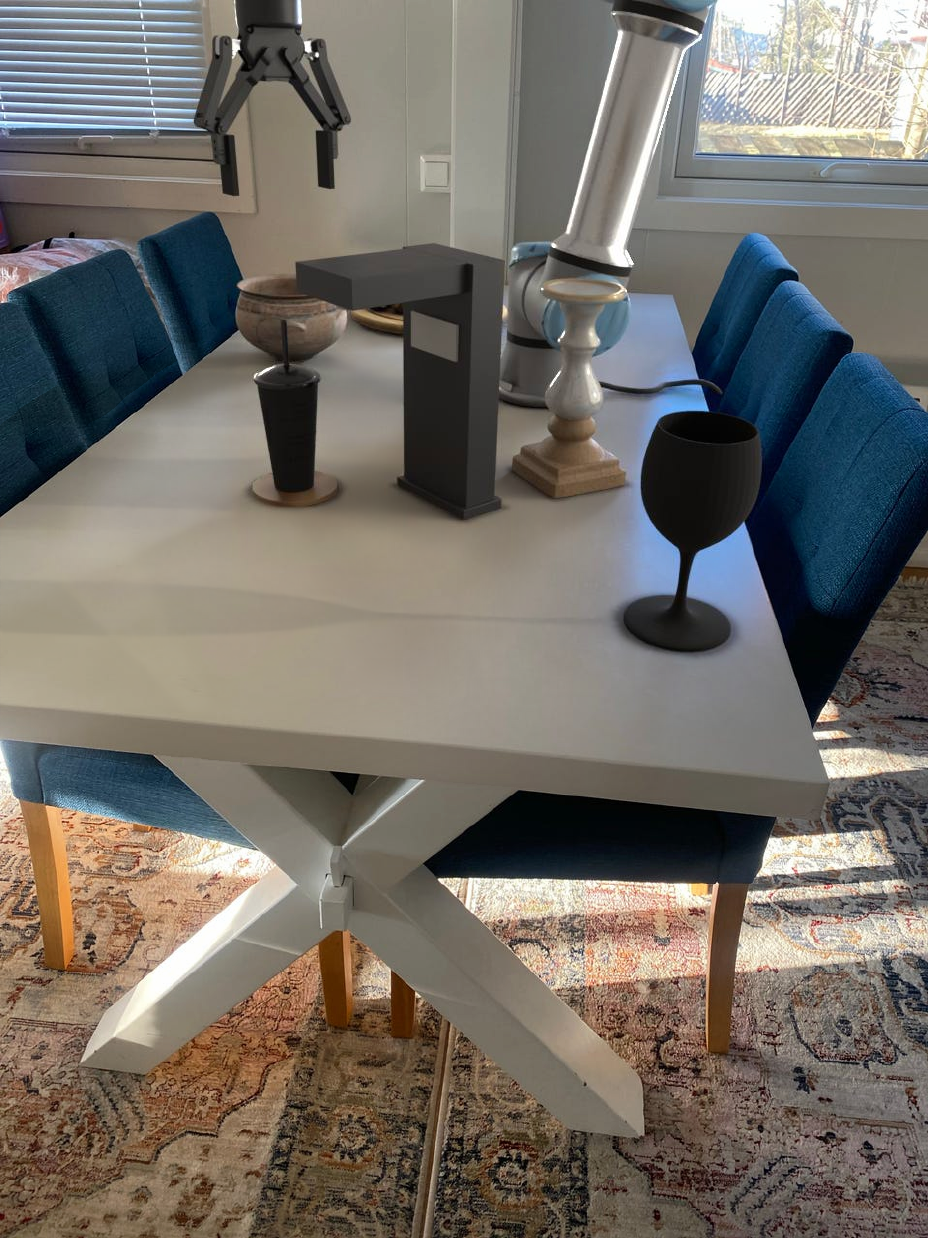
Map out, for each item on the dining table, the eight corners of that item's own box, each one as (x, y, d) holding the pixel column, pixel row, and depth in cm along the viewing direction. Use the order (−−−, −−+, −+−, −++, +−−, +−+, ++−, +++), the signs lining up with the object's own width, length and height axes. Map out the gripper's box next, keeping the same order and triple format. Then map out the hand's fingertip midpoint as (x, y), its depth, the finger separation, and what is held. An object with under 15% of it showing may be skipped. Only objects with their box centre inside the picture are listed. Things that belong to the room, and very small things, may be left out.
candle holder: (554, 499, 120) (569, 300, 108) (509, 468, 128) (519, 280, 116) (626, 485, 124) (649, 292, 112) (579, 456, 133) (595, 274, 121)
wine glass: (612, 598, 99) (635, 407, 88) (712, 596, 100) (746, 407, 89) (636, 654, 90) (665, 448, 80) (746, 651, 91) (787, 447, 80)
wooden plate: (416, 293, 217) (416, 254, 212) (537, 316, 201) (540, 274, 197) (316, 319, 194) (314, 276, 190) (444, 347, 178) (445, 301, 174)
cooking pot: (243, 338, 181) (237, 269, 174) (346, 337, 183) (343, 269, 177) (234, 377, 159) (227, 301, 153) (350, 376, 162) (348, 300, 156)
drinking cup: (313, 500, 116) (304, 331, 106) (253, 493, 118) (238, 325, 107) (333, 476, 123) (326, 315, 113) (276, 470, 124) (264, 310, 114)
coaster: (341, 474, 125) (341, 470, 125) (332, 507, 116) (332, 503, 116) (260, 472, 125) (260, 468, 125) (245, 505, 116) (245, 501, 116)
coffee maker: (433, 474, 126) (436, 241, 111) (501, 507, 117) (513, 260, 103) (303, 513, 115) (287, 259, 100) (367, 552, 106) (360, 281, 92)
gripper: (340, -7, 119) (346, 181, 130) (148, -19, 105) (172, 193, 116) (376, -8, 115) (379, 188, 125) (179, -21, 100) (202, 201, 111)
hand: (280, 191), depth 121 cm, fingers open, 13 cm apart
